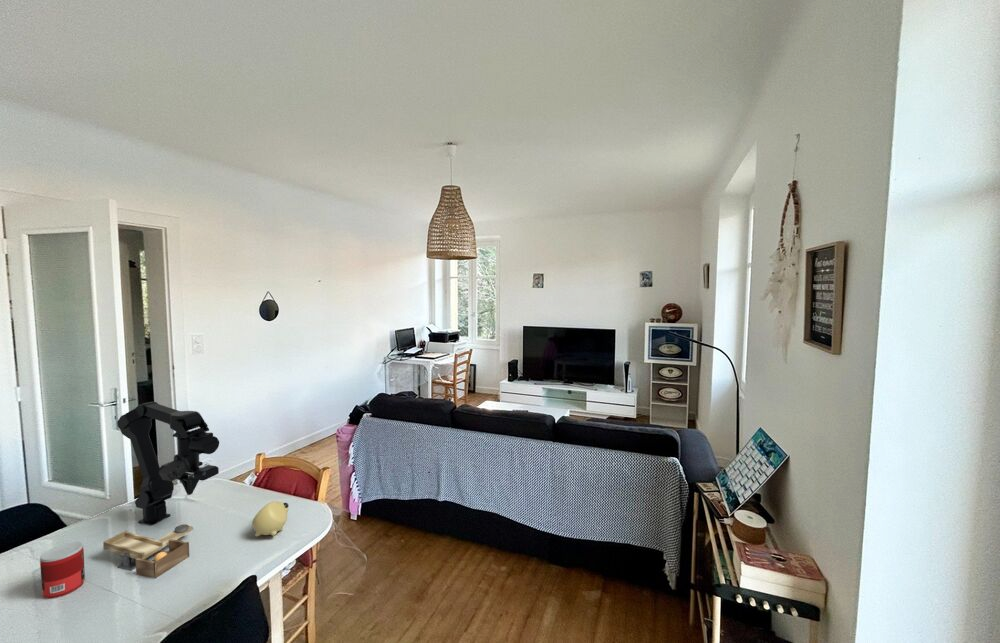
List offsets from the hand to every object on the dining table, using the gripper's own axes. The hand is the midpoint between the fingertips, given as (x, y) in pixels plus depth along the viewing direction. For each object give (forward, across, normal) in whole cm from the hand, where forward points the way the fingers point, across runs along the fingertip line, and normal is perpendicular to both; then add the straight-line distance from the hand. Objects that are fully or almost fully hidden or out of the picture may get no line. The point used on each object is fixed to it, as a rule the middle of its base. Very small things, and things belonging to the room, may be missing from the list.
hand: (189, 494), depth 139 cm
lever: (+9, -1, -12) cm, 15 cm away
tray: (+12, +10, -17) cm, 23 cm away
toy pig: (+12, +28, +5) cm, 31 cm away
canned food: (+12, -6, -31) cm, 34 cm away
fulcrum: (+12, +1, -17) cm, 21 cm away
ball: (+10, +9, -17) cm, 22 cm away
